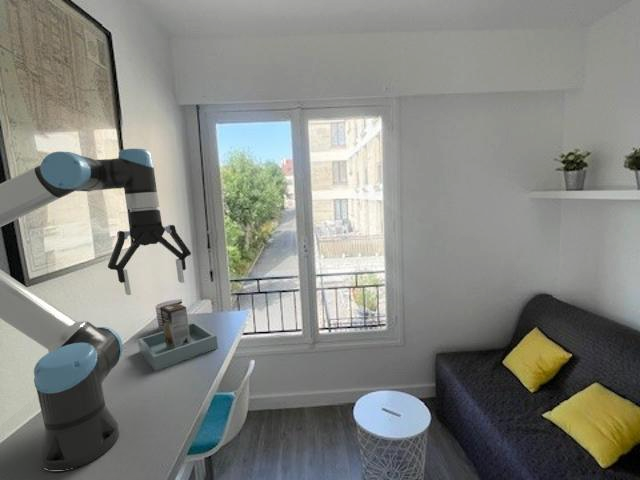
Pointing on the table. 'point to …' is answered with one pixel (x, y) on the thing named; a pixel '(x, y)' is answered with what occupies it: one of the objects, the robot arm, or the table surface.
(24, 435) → the table surface
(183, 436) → the table surface
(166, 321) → the coffee box
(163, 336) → the bin
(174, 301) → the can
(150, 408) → the table surface
